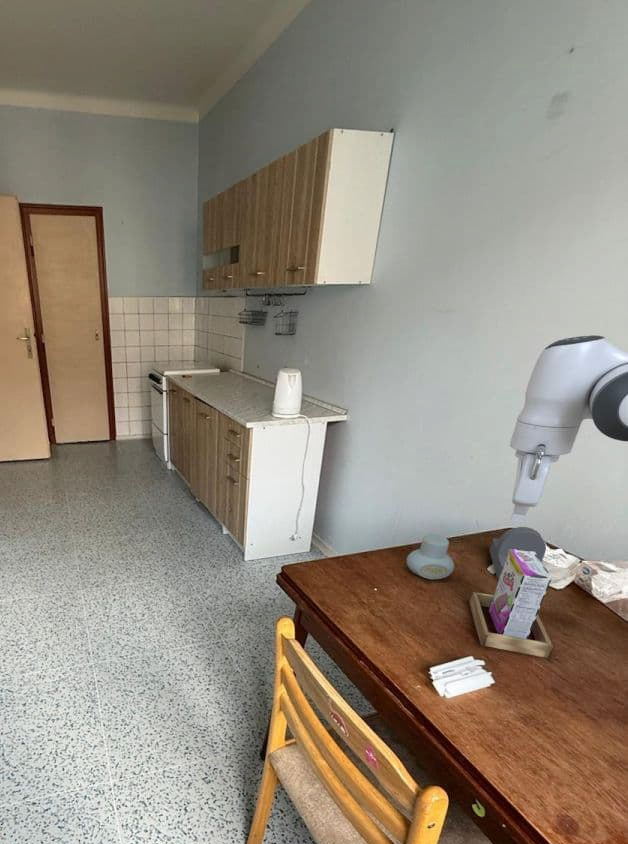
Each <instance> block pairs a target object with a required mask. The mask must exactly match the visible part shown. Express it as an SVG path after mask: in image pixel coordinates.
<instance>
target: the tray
mask: <svg viewBox="0 0 628 844" xmlns="http://www.w3.org/2000/svg"><path fill="white" fill-rule="evenodd" d="M471 592H472V593H471V595H470V599H469V601H468V602H469V606H470V610H471V614H472V617H473V622H474V625H475V629H476V632H477V636H478V639H479V643H480V646H484V647H489V648H494V649H498V650H504V651H509V652H515V653H519V654H525V655H530V656H536V657H541V658H546V659H548V658H549V656H550V654H551V651H552V649H553V647H554V646H553V643H552V641H551V639H550V637H549V635H548V633H547V630H546V629H545V626H544V624H543V622H542V619H541V618H540V615H539V613H538V614H537V617H536V619H535V621H534V624H533V627H532V629H531V633H532V635H533V637H534V640H533V639H529V638H528V639H523V638H517V637H512V636H506V635H501V634H497V633H495V632H490V631H489V629H488V626H487V622H486V619H485V616H484V613H483V610H482V607H485V608H490V605H491V602H492V600H493V597H494V594H489V593H488V594H487V593H482V592H478V591H477V592H476V591H471Z"/></svg>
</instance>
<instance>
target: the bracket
mask: <svg viewBox="0 0 628 844" xmlns="http://www.w3.org/2000/svg"><path fill="white" fill-rule="evenodd" d="M509 549H517V550H525V551H533V552H535V553H536V554H537V556H538V557H539V559H540V560H541V562H542V564H543V565H544V563H543V560H544V558H545V554H546V550H547V545H546V542H545V541H544V539H543V537H542V535H541V533H539V531H538V530H535V529H534V528H531V527H528V526H518V527H513V528H510V529H508V530H507V531H505V532H504V533H503V534H502V535H501V536H500V538H497V537H494V538H492V540H491V544H490V546H489V555H490V558H491V562H492V565H493V568H494V572H495V575H496V578H497V579H498V580H499V579H500V576H501V573H502V570H503V567H504V564H505V561H506V558H507V555H508V552H509Z"/></svg>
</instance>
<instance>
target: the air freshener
mask: <svg viewBox="0 0 628 844" xmlns="http://www.w3.org/2000/svg"><path fill="white" fill-rule="evenodd" d="M449 544H450V541H449V540H448V538H446V537H445V536H442V535H438V534H426V535H425V536H423V537H422V541H421V544H420V547H419V548H418V549H415V550H413V551H411V552H409V554H408V555H407V557H406V566H407V568H408V569H409V570H410V571H411V572H412V573H413V574H415V575H417V576H418V577H420V578H423V579H426V580H431V581H432V580H441V579H444V578H447V577H449V576H450V575H451V574H452V573H453V572H454V569H455V563H454V561H453V559H452V558H451V557H450V556H449V555H448V554H447V553H448V548H449Z"/></svg>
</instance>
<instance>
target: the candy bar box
mask: <svg viewBox="0 0 628 844" xmlns="http://www.w3.org/2000/svg"><path fill="white" fill-rule="evenodd" d="M542 563H543V561H542V562H541V560H540V559H539V557H538V556H537V554H536V553H535V552H533V551H525V550H517V549H509V552H508V555H507V558H506V561H505V564H504V567H503V570H502V573H501V576H500V579H498V582H497V585H496V588H495V591H494V594H493V595H494V597H493V600H492V602H491V605H490V607H488V614H489V616H490V619H491V621H492V624H493V626H494V629H495V631H496V634H501V635H506V636H512V637H517V638H523V639H528V640H529V637H530V634H531V633H532V630H531V629H532V627H533V624H534V621H535V619H536V617H537V614H538V615H539V611H540V609H541V606H542V604H543V602H544V599H545V596H546V594H547V592H548V589H549V586H550V584H551V581H552V579H553V577H552V576H551V575H550V573H549V571H548V570H547V568H546V566H545V565H544V563H543V564H542Z"/></svg>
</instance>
